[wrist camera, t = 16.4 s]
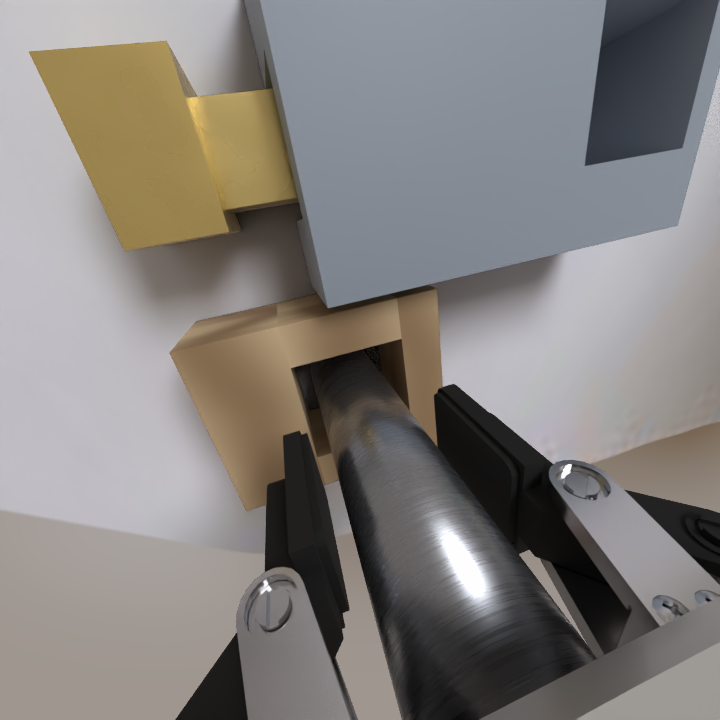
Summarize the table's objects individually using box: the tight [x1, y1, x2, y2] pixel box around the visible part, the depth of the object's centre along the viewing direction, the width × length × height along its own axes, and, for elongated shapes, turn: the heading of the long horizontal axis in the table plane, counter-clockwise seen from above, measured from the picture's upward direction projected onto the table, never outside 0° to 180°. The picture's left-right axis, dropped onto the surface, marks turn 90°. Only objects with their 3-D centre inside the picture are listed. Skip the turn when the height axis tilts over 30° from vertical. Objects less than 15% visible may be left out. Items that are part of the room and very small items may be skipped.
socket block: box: [244, 0, 720, 308], centre depth 11 cm, size 15×10×5 cm, turn 100°
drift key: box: [29, 41, 299, 251], centre depth 11 cm, size 13×4×4 cm, turn 100°
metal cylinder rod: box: [310, 349, 598, 720], centre depth 10 cm, size 3×3×14 cm
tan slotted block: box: [170, 285, 443, 511], centre depth 15 cm, size 10×8×4 cm
